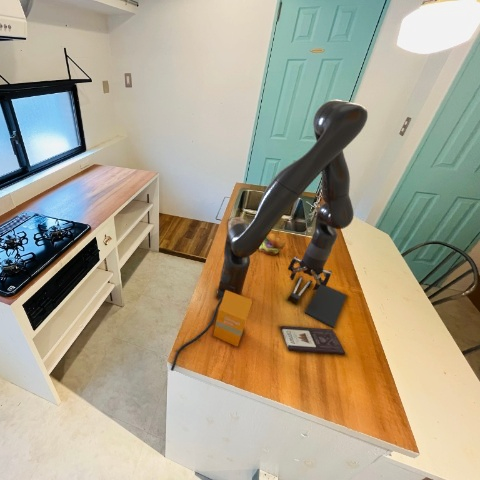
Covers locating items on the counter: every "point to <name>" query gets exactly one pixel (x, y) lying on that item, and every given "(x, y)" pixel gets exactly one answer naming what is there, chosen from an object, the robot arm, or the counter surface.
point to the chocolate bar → (312, 340)
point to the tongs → (294, 297)
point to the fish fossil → (235, 221)
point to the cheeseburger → (272, 244)
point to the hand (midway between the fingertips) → (303, 284)
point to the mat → (326, 305)
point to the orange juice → (232, 317)
